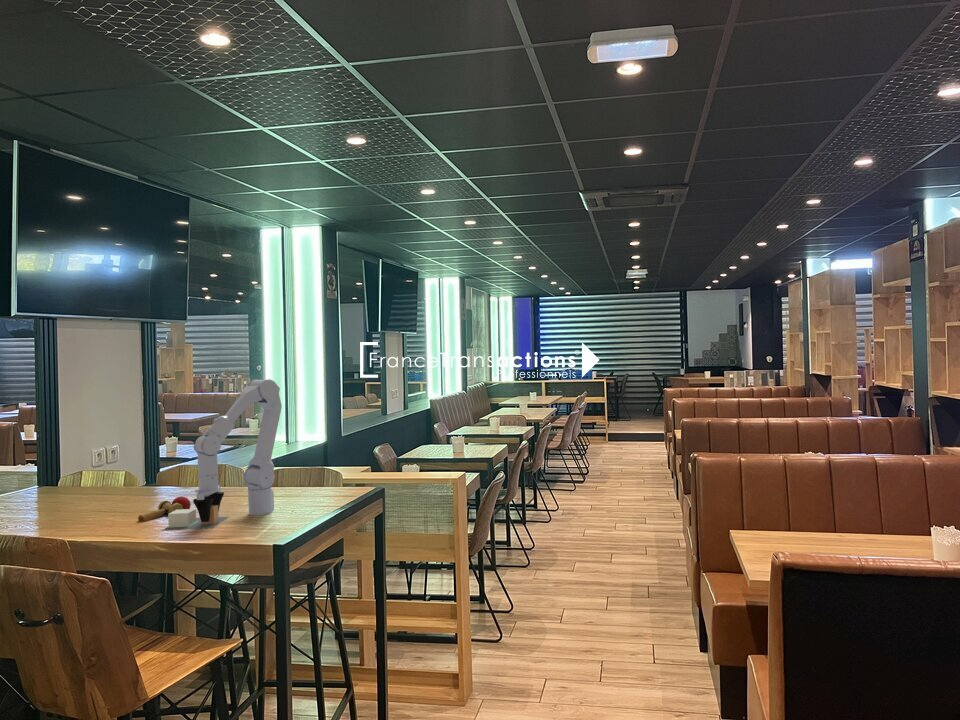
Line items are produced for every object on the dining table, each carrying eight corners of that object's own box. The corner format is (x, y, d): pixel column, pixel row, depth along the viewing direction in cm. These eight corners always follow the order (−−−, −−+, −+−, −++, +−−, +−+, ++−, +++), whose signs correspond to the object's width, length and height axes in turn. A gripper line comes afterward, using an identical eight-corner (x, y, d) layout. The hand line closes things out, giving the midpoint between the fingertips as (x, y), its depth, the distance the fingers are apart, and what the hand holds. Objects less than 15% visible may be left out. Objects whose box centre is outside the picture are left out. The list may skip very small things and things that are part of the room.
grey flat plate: (182, 520, 231) (182, 518, 231) (230, 519, 231) (230, 516, 231) (161, 533, 215) (161, 530, 215) (212, 531, 215) (212, 528, 215)
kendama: (152, 529, 227) (198, 509, 242) (146, 510, 227) (193, 491, 242) (137, 531, 231) (183, 512, 246) (131, 512, 230) (178, 494, 246)
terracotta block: (205, 521, 225) (205, 505, 225) (218, 520, 225) (218, 504, 225) (201, 524, 221) (200, 508, 221) (214, 523, 221) (213, 507, 221)
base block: (176, 522, 225) (176, 509, 225) (196, 521, 225) (195, 508, 225) (168, 527, 219) (168, 513, 219) (188, 526, 219) (188, 513, 219)
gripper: (203, 471, 230) (205, 514, 230) (185, 479, 216) (187, 524, 216) (226, 470, 230) (227, 513, 230) (209, 478, 216) (211, 523, 216)
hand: (209, 518), depth 223 cm, fingers open, 7 cm apart
